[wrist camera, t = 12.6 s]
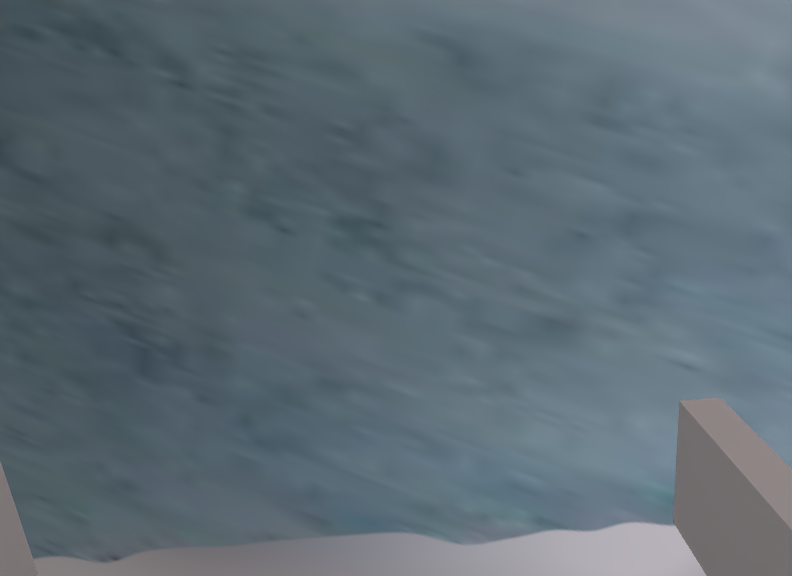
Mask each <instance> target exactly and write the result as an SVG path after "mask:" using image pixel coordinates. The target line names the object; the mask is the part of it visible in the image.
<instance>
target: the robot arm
mask: <svg viewBox="0 0 792 576" xmlns="http://www.w3.org/2000/svg"><path fill="white" fill-rule="evenodd" d="M673 522H674V524H675V525H676V527H677V529H678V530H679V532H680V533H681V535H682V537H683V538H684V540H685V541H686V543H687V545H688V546H689V548H690V549H691V551H692V553H693V554H694V556H695V557H696V559H697V561H698V562H699V564H700V565H701V567H702V569H703V570H704V572H705V573H706V575H707V576H792V469H791V468H790V467H789V466H788V465H787V464H786V463H785V462H784V461H783V460H782V459H781V458H780V457H779V456H778V455H777V454H776V453H775V452H774V451H773V450H772V449H771V448H770V447H769V446H768V445H767V444H766V443H765V442H764V441H763V440H762V439H761V438H760V437H759V436H758V435H757V434H756V433H755V432H754V431H753V430H752V429H751V428H750V427H749V426H748V425H747V424H746V423H745V422H744V421H743V420H742V419H741V418H740V417H739V416H738V415H737V414H736V413H735V412H734V411H733V410H732V409H731V408H730V407H729V406H728V405H727V404H726V403H725V402H724V401H723V400H722V399H721V398H708V399H697V400H685V401H679V417H678V437H677V456H676V476H675V495H674V515H673ZM36 575H37V570H36V567H35V564H34V561H33V558H32V555H31V552H30V549H29V546H28V543H27V540H26V537H25V534H24V531H23V528H22V525H21V522H20V519H19V516H18V513H17V510H16V507H15V504H14V501H13V498H12V495H11V492H10V489H9V486H8V483H7V480H6V477H5V474H4V471H3V468H2V465H1V462H0V576H36Z"/></svg>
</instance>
